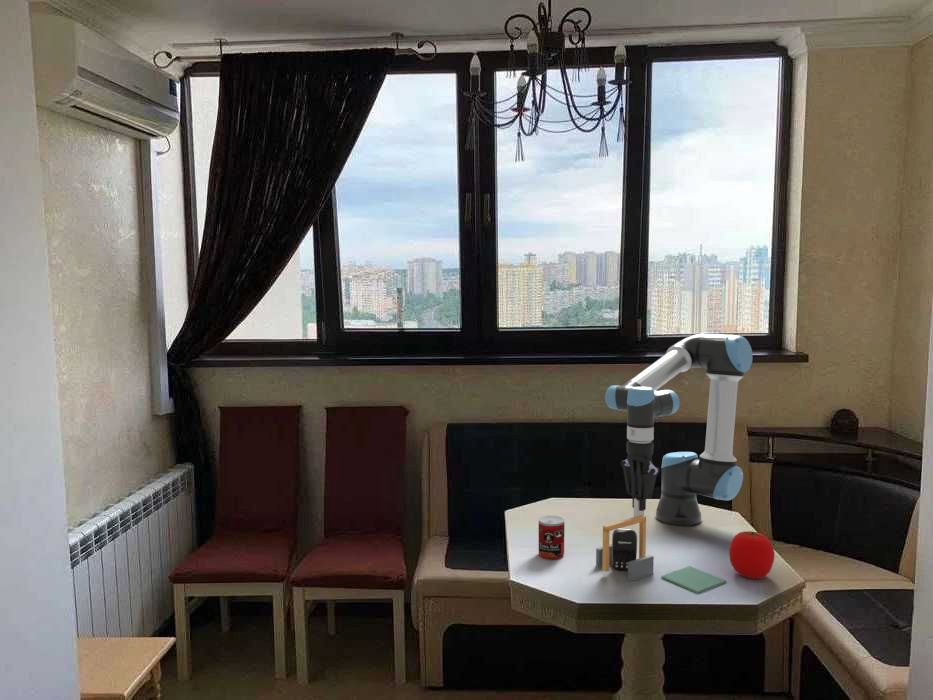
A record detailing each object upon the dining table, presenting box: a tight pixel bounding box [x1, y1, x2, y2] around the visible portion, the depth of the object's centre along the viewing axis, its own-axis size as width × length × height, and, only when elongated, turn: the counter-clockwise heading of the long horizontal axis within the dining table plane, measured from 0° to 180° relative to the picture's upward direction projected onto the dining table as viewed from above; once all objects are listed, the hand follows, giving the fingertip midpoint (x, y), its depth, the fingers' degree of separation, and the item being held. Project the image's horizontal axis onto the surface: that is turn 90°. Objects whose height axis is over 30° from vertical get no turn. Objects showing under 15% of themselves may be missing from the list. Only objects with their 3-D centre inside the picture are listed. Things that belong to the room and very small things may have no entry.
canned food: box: [538, 515, 565, 561], centre depth 207 cm, size 8×8×11 cm
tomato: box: [728, 530, 775, 580], centre depth 191 cm, size 12×12×13 cm
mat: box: [661, 565, 727, 594], centre depth 189 cm, size 12×12×1 cm
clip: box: [595, 543, 655, 582], centre depth 196 cm, size 9×13×5 cm
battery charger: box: [611, 528, 638, 572], centre depth 196 cm, size 7×4×11 cm, turn 78°
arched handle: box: [601, 514, 647, 573], centre depth 196 cm, size 16×1×13 cm, turn 124°
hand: (638, 520), depth 201 cm, fingers closed
